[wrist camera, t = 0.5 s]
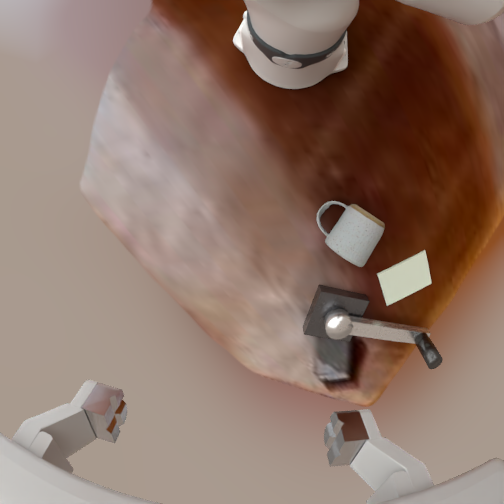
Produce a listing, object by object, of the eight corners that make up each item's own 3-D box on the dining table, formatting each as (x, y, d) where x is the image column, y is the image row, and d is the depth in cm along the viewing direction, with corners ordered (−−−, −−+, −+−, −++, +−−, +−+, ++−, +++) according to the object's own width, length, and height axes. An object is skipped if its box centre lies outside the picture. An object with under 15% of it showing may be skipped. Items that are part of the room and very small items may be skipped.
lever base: (302, 326, 55) (303, 334, 53) (318, 284, 52) (320, 291, 49) (347, 334, 56) (349, 341, 53) (365, 294, 52) (369, 301, 50)
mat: (386, 304, 52) (387, 305, 52) (377, 273, 50) (377, 274, 50) (430, 282, 50) (431, 283, 50) (424, 250, 48) (425, 250, 47)
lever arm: (320, 327, 52) (327, 364, 43) (329, 306, 50) (339, 341, 41) (418, 341, 52) (435, 372, 43) (429, 324, 51) (448, 353, 41)
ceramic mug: (379, 217, 46) (395, 230, 39) (355, 255, 49) (367, 274, 42) (329, 187, 45) (339, 195, 38) (306, 228, 48) (311, 244, 41)
